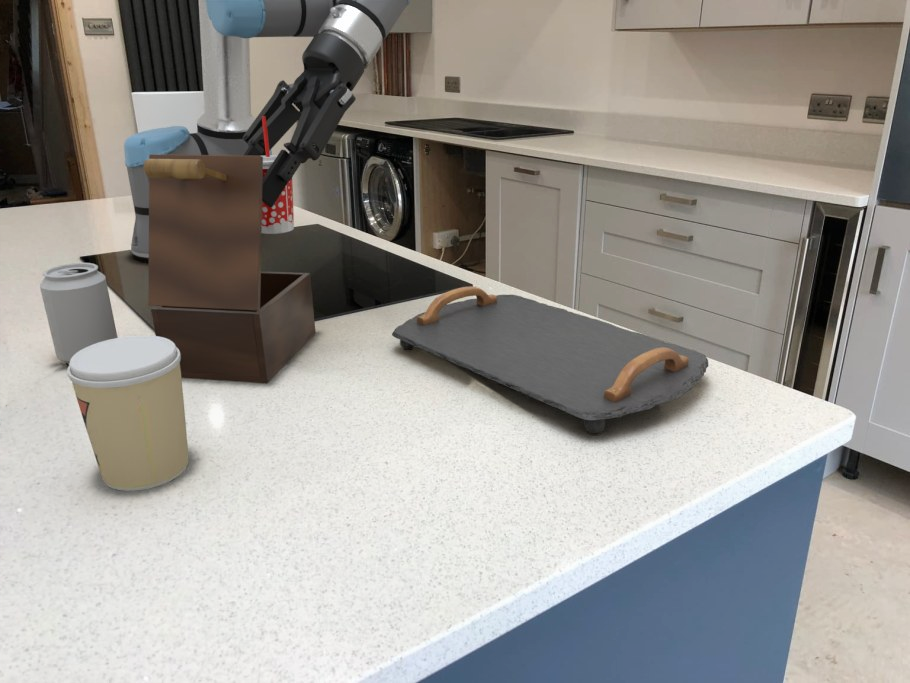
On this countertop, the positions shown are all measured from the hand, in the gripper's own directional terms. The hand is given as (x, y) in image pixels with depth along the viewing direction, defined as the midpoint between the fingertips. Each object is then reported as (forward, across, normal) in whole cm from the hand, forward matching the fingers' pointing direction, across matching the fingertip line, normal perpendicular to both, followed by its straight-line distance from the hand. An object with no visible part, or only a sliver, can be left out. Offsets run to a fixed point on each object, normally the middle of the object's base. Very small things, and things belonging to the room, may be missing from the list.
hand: (247, 196), depth 90 cm
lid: (+7, +2, -3) cm, 8 cm away
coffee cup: (+32, +17, -3) cm, 36 cm away
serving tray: (0, +31, +28) cm, 42 cm away
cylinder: (-12, -90, +42) cm, 100 cm away
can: (+26, -15, +2) cm, 30 cm away
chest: (+16, 0, +12) cm, 20 cm away
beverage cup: (+1, 0, +6) cm, 6 cm away
